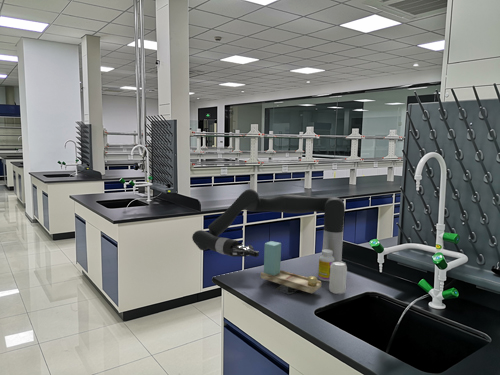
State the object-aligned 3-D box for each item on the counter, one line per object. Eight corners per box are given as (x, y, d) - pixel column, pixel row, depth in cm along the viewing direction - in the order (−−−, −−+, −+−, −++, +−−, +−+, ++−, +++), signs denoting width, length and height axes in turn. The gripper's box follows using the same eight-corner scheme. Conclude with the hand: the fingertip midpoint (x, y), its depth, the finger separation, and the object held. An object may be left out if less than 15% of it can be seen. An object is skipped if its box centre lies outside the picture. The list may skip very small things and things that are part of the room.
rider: (263, 273, 153) (264, 243, 152) (270, 269, 157) (271, 241, 156) (273, 276, 150) (274, 245, 149) (280, 272, 154) (281, 243, 153)
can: (327, 292, 146) (328, 263, 144) (331, 286, 151) (333, 259, 150) (343, 296, 143) (345, 266, 141) (347, 290, 148) (348, 262, 147)
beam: (260, 278, 153) (260, 272, 152) (271, 272, 159) (271, 267, 159) (311, 293, 138) (312, 287, 138) (321, 287, 145) (321, 281, 144)
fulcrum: (275, 289, 147) (275, 284, 146) (289, 281, 155) (289, 276, 155) (290, 294, 143) (290, 288, 142) (303, 286, 151) (304, 280, 151)
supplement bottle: (329, 283, 155) (331, 254, 153) (315, 279, 159) (316, 251, 157) (335, 278, 160) (337, 250, 159) (322, 274, 164) (323, 247, 163)
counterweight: (305, 285, 142) (306, 277, 142) (310, 282, 145) (310, 275, 145) (314, 287, 140) (314, 280, 140) (318, 284, 143) (318, 277, 143)
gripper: (218, 242, 162) (249, 249, 152) (236, 236, 172) (266, 242, 162) (217, 258, 163) (248, 266, 153) (236, 251, 173) (266, 258, 163)
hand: (257, 254), depth 158 cm, fingers closed
